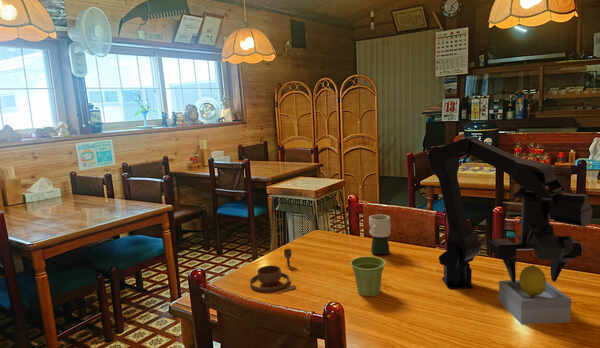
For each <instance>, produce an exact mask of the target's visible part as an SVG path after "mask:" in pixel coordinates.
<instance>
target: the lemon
mask: <svg viewBox="0 0 600 348" xmlns="http://www.w3.org/2000/svg"><path fill="white" fill-rule="evenodd" d="M518 280H519V281H520V286H521V288H522V290H523V291H524V292H525V293H527V294H528V295H530V296H531V297H535V296H537V295H540V294H542V293H543V292H544V290H545V288H546V281H547V279H546V275H545V273H544V271H543V270H542V269H541V268H539V267H538V266H535V265H534V264H531V265H529V266H526V267H524V268H523V269H522V270H521V272H520V274H519V279H518Z"/></svg>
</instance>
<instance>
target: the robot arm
mask: <svg viewBox="0 0 600 348" xmlns="http://www.w3.org/2000/svg"><path fill="white" fill-rule="evenodd" d="M426 154H427V155H426V158H427V162H428V164H429V167H430V170H431V171H432V173H433V174H434V175H435V176H436V178H437V179H438V182H439V188H440V192H441V198H442V201H443V206H444V211H445V215H446V220H447V225H448V232H447V233H448V234H447V237H446V251H444V252H443V253H442V254H440V255H439V256H438V260H439V264H440V265H442V266H443V277H441V280H442V282H443V283H444V284H445V286H446V287H447V289H471V288H472V286H473V285H472V274H473V273H472V272H473V271H472V268H471V265H470V263H471V262H473V261H474V259H475V257H477V256H478V254H479V253H480V247H481V246H482V245H481V243H480V240H479V239H480V238H479V232H478V231H474V232H473V231H472V230H471V229H470V227H469V225H468V221H467V216H466V212H465V207H464V202H463V198H462V193H461V188H460V185H459V183H460V182H459V179H458V173H459V170H460V165H461V162H460V158H462V157H465V156H467V155H469V156H471V157H473V158H475V159H477V160H479V161H481V162H483V163H485V164H488V165H489V166H492V167H494V168H496V169H498V170H499V171H501V172H504V173H505V174H507V175H508V177H510V178H511V181H513V182H514V183H515V184H517V185H518V186H520V187H519V189H518V190H517V191H516V192H514V193H513V194H512V197H513V198H518V199H522V202H521V218H519V220H518V221H519V222H518V224H520V225H521V226H520V227H521V230H520V231H521V233H520V235H518V240H519V241H520V242H513V241H511V240H509V239H508V238H492V239H491V240H490V242H489V245H488V246H489V251H490V252H491V253H493V254H494V255H495V256H496V257H497V258H500V259H501V260H502V261H503V263H504V265H505V268H506V270H507V273H508V275H509V278H510V280H511V281H512V282H515V280H517V275H516V274H517V273H516V270H517V269H516V263H517V261H518V258H517V257H516V256H517V252H535V253H536V255H537V258H538V259H539V260H543V261H548V260H550V279H551V282H555V283H556V282H557V279H558V278H559V276H560V274H561V272H562V270H563V269H564V267H565V265H566V264H567V262H569V261H571V260H576V259H577V257H580V256H583V255H584V253H583V252H584V247H583V244H581V243H580V242H579V241H577V240H575V239H573V238H572V237H571V236H570V235H555V232H554V225H553V224H551V220H553V222H555V223H561V224H566V225H571V226H577V227H580V228H581V227H582V228H586V227H588V226H589V224H590V222H591V219H592V216H593V208H592V205H591V202H590V201H589V195H588V194H583V193H579V194H576V193H567V190H566V188H565V187H564V186H563V184H562V183H561V181H560V180H559V178H558V177H557V174H556V173H557V172H556V171H555V168H554V167H553V166H552V165H550V164H548V163H546V162H542V161H538V160H534V159H527V158H523V157H518V156H515V155H513V154H511V153H509V152H507V151H505V150H503V149H501V148H499V147H496V146H494V145H492V144H490V143H487V142H485V141H483V140H481V139H479V138H478V137H476V136H468V137H467V136H464V137H462V138H460V139H458V140H456V141H454V142H451V143H448V144H442V145H436V146H433V147H431V148H430V149H429V151H428V152H427V153H426ZM547 188H548V189H547Z"/></svg>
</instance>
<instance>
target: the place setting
mask: <svg viewBox="0 0 600 348" xmlns="http://www.w3.org/2000/svg"><path fill="white" fill-rule="evenodd" d="M283 255H284V258H285V259H286V264H287V265H290V266H291V264H290V263H291V261H290V258H292V256H293V255H292V249H291V248H286V249H284V250H283ZM256 272H257V274H255V275H254V276H253V277H251V278H250V280H249V284H250V285H249V286H251V287H250V288H252V289H253V290H255V291H257V290H258V291H259V292H262V291H263V293H265V292H266V293H268V292H276V291H277V292H278V291H280V290H283V289H284V288H286V287H287V286H288V285H289V283H290V279H291V278H290V276H289V275H288V274H287V273H285V272H282V269H281V268H280V267H279V266H278V265H266V266H265V265H264V266H261V267H260V268H258V269H257V271H256ZM281 277H284V278H286V279H287V281H286V282H285V283H283V284H281V285H277V283H278V282H279V281H280V280H281V279H282V278H281ZM284 278H283V279H284ZM257 279H259V280H257ZM255 280H257V281H259V283H260V284H263V285H264V286H266V287H259V286H256V285H254V284H253V282H254V281H255ZM255 282H256V281H255ZM255 282H254V283H255ZM252 284H253V285H252ZM275 285H277V286H275ZM268 286H269V287H268ZM271 286H274V287H271ZM295 289H296V285H295V284H294V285H290V286H288V287H287V288H286V289H284V290H283V291H281V292H278V293H277V295H281V294H283V293H285V292H290V291H293V290H295Z"/></svg>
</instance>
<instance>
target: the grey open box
mask: <svg viewBox="0 0 600 348" xmlns="http://www.w3.org/2000/svg"><path fill="white" fill-rule="evenodd" d="M498 281H499V282H498V284H499V285H498V302H499V303H500V304H501V306H502V307H504V308H505V310H507V311H508V313H510V314H511V316H512V317H514V318H515V320H517V322H518V323H520V325H524V324H525V325H526V324H529V325H530V324H531V325H532V324H554V323H555V324H557V323H570V322H571V316H572V315H571V313H572V312H571V311H572V310H571V309H572V298H571V297H569V296H568V295H567V294H565V293H564V292H562V291H561V290H560V289H558V288H557V287H556V286H554V285H553V284H551V283H550V282H549V281H547V280H546V288H545V290H544V292H543V293H542V294H540V295H537V296H535V297H531V296H530V295H528V294H527V293H525V292H524V291H523V290H522V288H521V286H520V281H519V279H515V282H512V281H511V279H510V280H498Z"/></svg>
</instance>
